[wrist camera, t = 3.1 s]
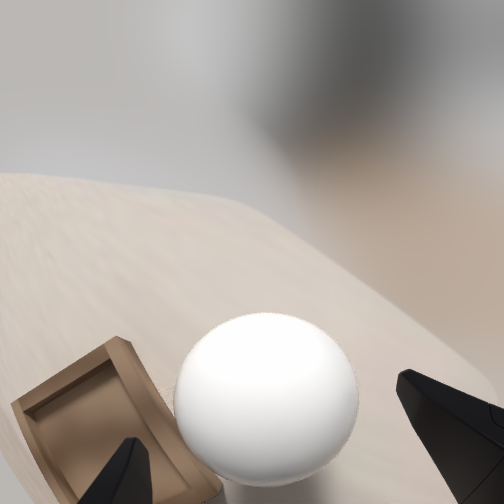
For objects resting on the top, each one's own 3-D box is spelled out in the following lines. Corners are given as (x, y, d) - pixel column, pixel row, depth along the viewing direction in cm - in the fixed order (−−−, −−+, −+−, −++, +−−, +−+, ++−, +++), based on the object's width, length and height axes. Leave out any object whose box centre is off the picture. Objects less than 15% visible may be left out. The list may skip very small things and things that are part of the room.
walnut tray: (222, 483, 14) (217, 494, 12) (100, 530, 12) (85, 539, 10) (130, 342, 18) (115, 335, 16) (28, 405, 16) (10, 403, 14)
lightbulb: (334, 370, 17) (420, 343, 7) (287, 460, 15) (317, 542, 5) (242, 327, 18) (218, 249, 9) (193, 414, 16) (107, 439, 6)
